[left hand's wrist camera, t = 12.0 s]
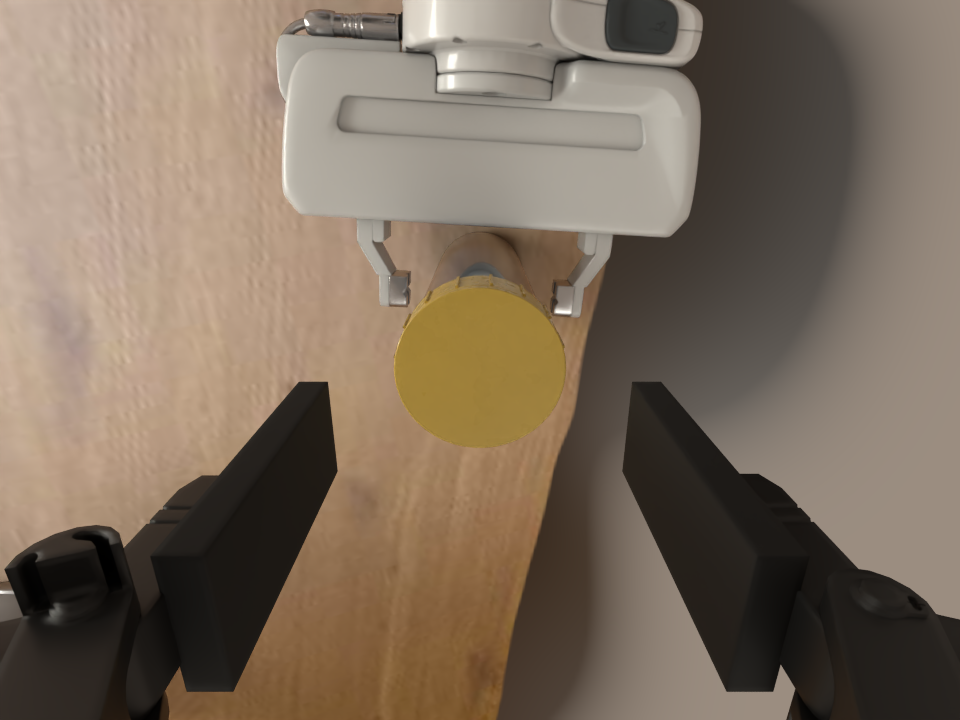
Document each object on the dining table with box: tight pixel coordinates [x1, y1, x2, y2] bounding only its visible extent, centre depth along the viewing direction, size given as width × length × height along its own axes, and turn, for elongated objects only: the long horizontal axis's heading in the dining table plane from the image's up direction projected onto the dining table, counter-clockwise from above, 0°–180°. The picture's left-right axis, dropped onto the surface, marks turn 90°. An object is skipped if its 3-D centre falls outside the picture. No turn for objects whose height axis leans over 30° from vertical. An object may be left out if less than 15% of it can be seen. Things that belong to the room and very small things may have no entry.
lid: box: [394, 274, 566, 448], centre depth 19 cm, size 6×6×2 cm
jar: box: [424, 232, 536, 298], centre depth 26 cm, size 6×6×18 cm
